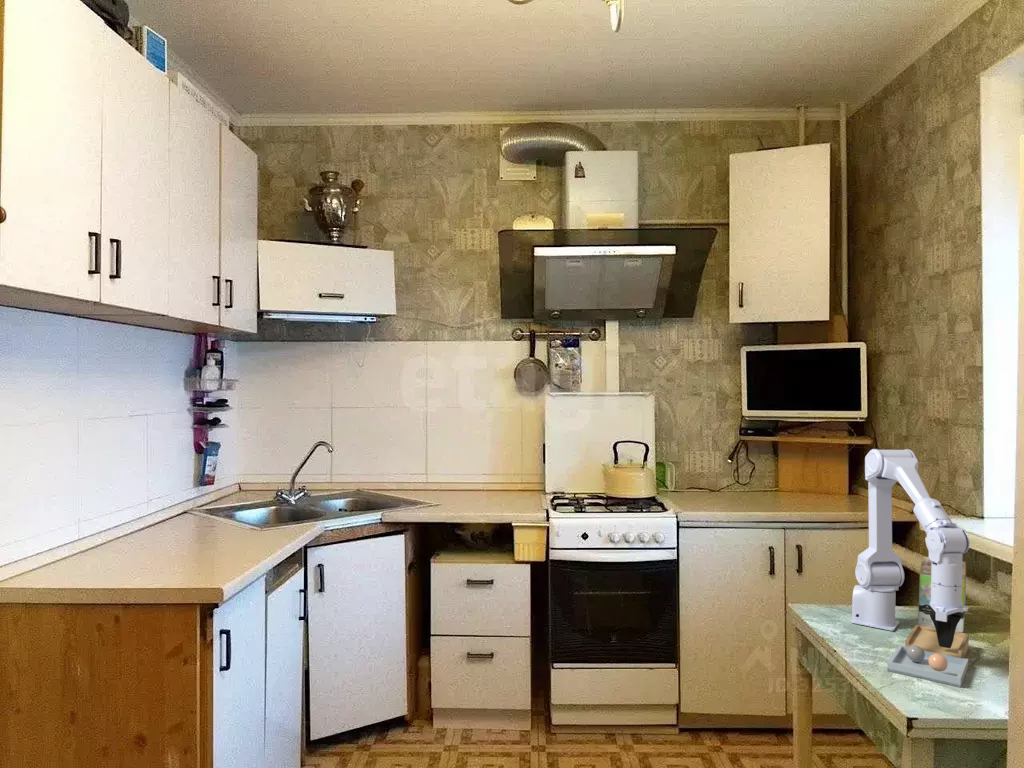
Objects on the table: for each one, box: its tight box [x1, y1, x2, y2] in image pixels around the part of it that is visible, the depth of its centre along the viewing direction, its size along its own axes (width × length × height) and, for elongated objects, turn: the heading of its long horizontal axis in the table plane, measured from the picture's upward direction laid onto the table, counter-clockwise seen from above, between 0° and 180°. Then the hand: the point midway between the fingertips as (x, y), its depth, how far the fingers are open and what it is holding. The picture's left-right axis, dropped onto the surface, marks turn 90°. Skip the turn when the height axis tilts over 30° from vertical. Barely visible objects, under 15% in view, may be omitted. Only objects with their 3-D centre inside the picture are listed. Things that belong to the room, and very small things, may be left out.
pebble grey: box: [907, 645, 925, 662], centre depth 156 cm, size 3×3×3 cm
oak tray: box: [904, 623, 970, 659], centre depth 163 cm, size 10×14×3 cm
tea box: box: [917, 556, 967, 633], centre depth 185 cm, size 15×10×15 cm, turn 148°
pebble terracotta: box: [928, 654, 948, 671], centre depth 149 cm, size 3×3×3 cm
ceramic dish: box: [887, 644, 969, 688], centre depth 153 cm, size 13×13×2 cm
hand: (945, 646), depth 157 cm, fingers closed
